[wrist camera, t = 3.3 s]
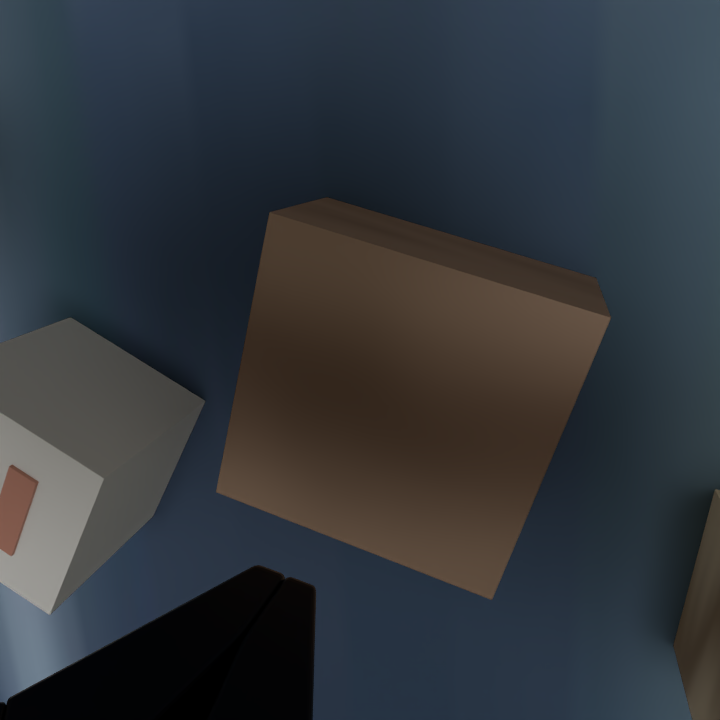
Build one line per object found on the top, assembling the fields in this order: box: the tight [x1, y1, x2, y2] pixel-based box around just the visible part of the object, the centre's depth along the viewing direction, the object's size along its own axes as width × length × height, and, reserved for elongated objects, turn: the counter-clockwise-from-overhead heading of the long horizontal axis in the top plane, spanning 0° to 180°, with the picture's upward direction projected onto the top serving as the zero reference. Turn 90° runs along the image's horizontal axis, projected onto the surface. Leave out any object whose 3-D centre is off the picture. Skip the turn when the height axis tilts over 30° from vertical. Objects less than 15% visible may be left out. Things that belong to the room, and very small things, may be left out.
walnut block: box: [216, 197, 611, 600], centre depth 16 cm, size 7×7×4 cm
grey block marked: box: [0, 317, 205, 615], centre depth 18 cm, size 5×5×5 cm
